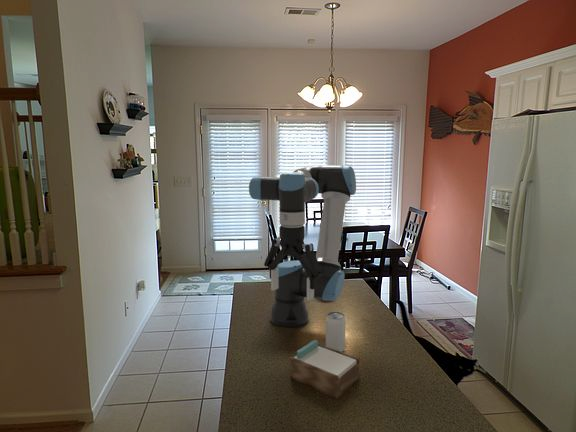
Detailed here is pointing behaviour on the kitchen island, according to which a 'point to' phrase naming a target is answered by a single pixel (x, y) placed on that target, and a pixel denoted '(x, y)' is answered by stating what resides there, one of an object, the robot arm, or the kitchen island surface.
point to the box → (324, 376)
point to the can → (335, 331)
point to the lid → (325, 359)
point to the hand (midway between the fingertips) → (292, 294)
